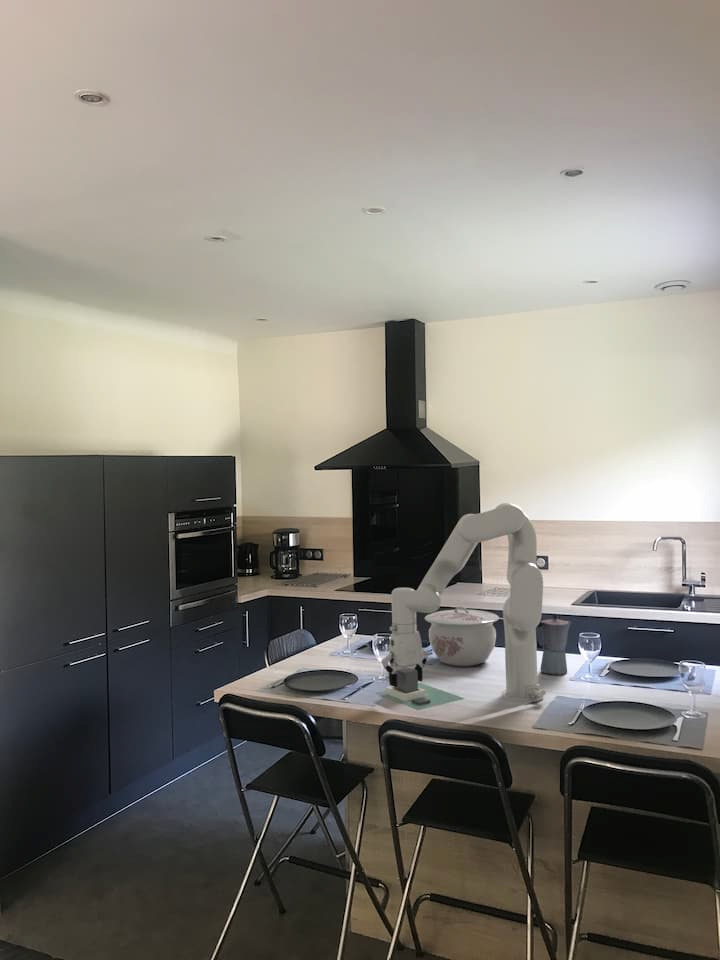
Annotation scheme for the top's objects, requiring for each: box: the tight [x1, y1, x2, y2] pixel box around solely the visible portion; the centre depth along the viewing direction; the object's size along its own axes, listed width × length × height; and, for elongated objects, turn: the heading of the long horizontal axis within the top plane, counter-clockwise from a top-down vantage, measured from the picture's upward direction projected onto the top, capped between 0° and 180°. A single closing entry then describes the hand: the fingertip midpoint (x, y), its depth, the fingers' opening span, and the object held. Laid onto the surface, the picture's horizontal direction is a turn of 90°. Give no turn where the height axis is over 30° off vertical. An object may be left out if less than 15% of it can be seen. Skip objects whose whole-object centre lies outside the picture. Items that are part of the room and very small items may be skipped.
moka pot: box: [536, 613, 572, 675], centre depth 260 cm, size 10×15×20 cm, turn 112°
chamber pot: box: [424, 605, 500, 668], centre depth 278 cm, size 28×28×21 cm
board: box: [375, 682, 466, 711], centre depth 233 cm, size 22×18×3 cm
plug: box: [395, 666, 419, 693], centre depth 234 cm, size 7×4×8 cm, turn 33°
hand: (406, 683), depth 234 cm, fingers open, 9 cm apart
